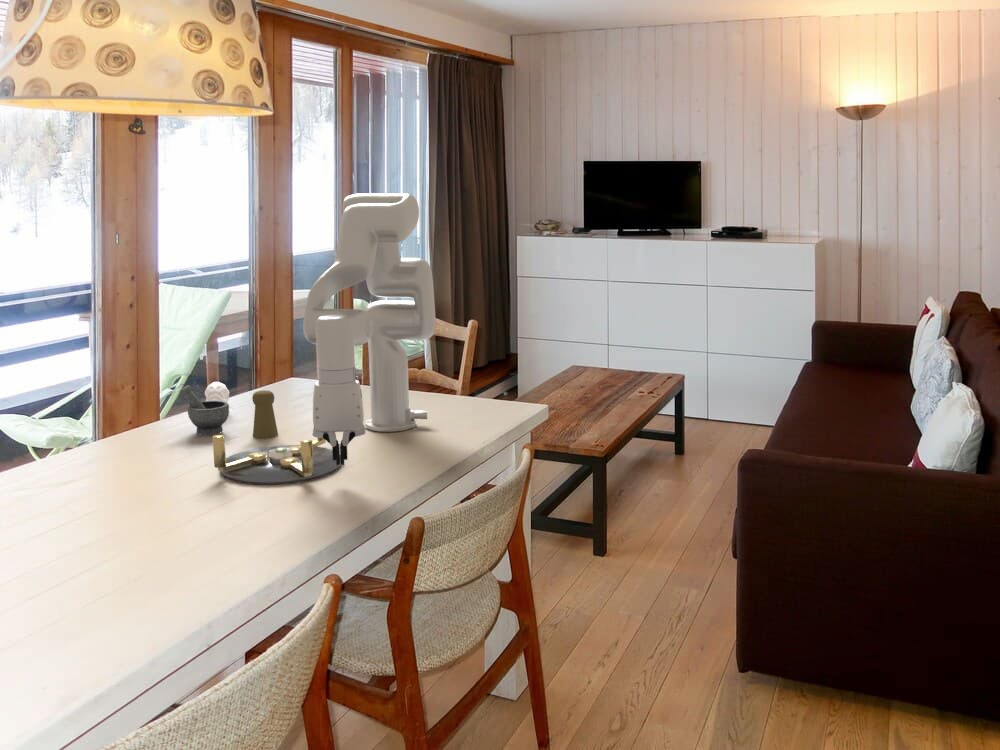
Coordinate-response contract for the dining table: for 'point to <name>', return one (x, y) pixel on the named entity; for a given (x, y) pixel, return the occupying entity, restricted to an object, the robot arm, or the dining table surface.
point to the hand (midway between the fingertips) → (340, 463)
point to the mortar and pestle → (205, 413)
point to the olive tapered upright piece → (264, 415)
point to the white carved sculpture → (217, 392)
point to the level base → (278, 466)
